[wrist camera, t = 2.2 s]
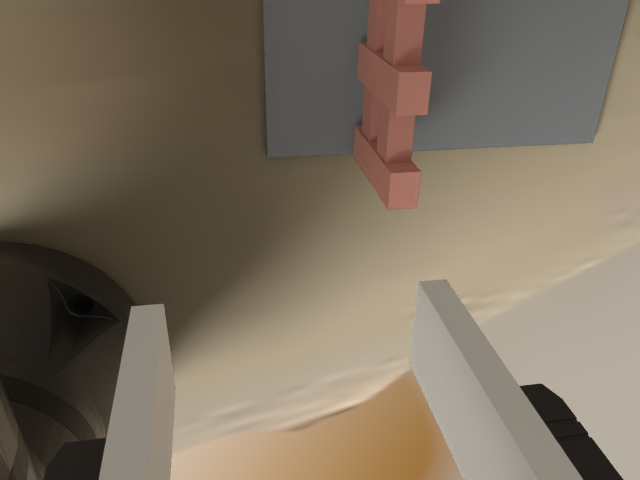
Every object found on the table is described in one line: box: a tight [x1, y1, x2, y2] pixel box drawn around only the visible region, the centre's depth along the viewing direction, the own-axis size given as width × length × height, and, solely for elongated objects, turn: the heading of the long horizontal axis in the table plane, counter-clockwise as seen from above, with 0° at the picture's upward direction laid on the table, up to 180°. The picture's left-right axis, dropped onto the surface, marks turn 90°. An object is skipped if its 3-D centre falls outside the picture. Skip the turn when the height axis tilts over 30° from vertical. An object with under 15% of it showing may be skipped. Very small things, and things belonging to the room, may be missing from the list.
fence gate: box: [353, 0, 440, 210], centre depth 26 cm, size 13×2×7 cm, turn 179°
